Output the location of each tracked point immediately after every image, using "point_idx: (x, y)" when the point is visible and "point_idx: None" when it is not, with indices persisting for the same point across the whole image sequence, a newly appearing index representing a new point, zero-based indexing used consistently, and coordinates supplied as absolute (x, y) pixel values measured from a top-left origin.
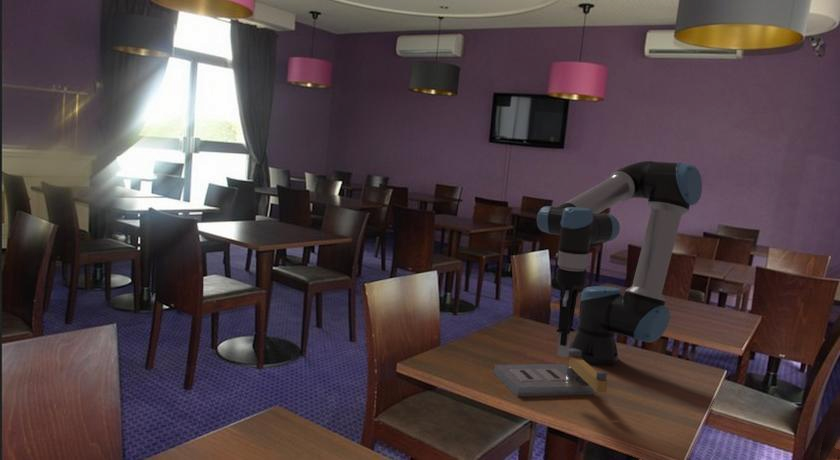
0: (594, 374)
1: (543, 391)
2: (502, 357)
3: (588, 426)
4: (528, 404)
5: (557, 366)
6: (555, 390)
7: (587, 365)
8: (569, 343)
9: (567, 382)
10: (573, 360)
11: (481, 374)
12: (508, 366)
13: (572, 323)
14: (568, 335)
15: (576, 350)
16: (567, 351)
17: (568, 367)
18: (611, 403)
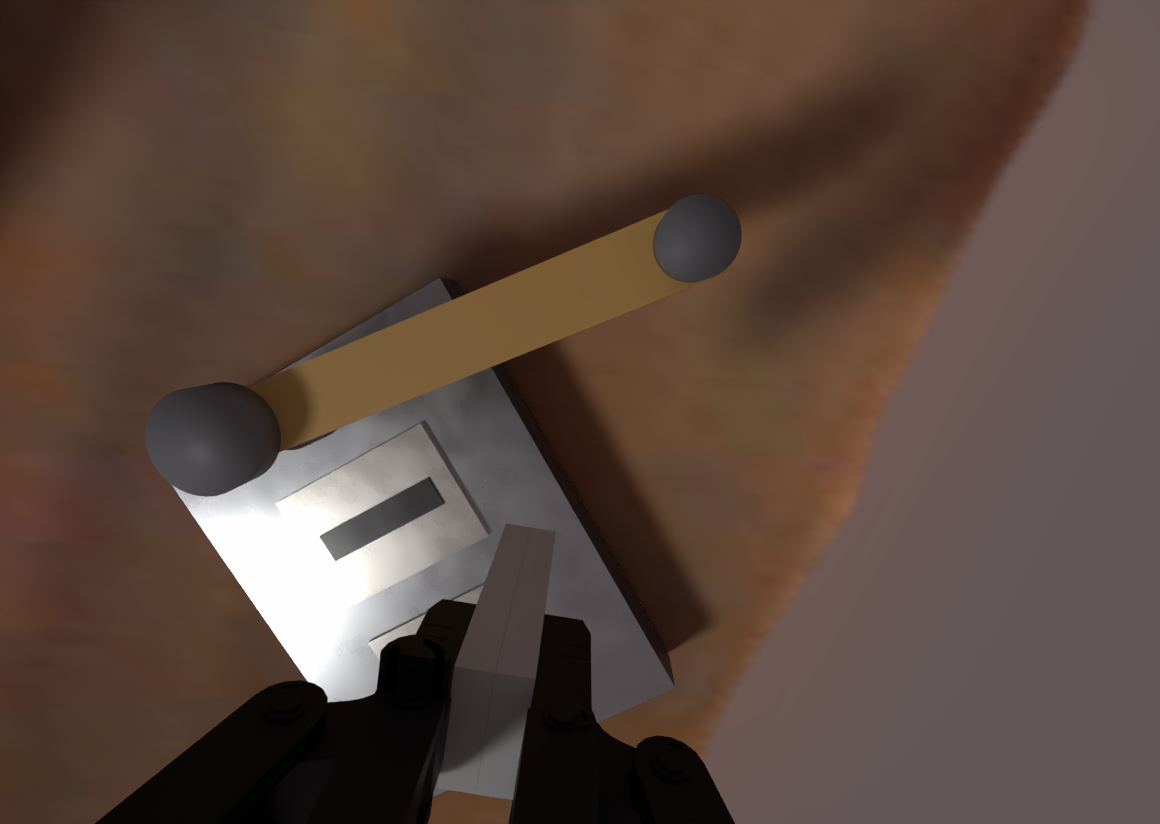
0: (601, 291)
1: (603, 550)
2: (150, 746)
3: (888, 318)
4: (729, 600)
5: None
6: (569, 492)
7: (416, 339)
8: (501, 587)
9: (466, 435)
10: (317, 436)
11: (452, 818)
12: None
13: (264, 721)
14: (533, 675)
15: (194, 432)
16: (549, 562)
17: (308, 444)
18: (524, 175)
